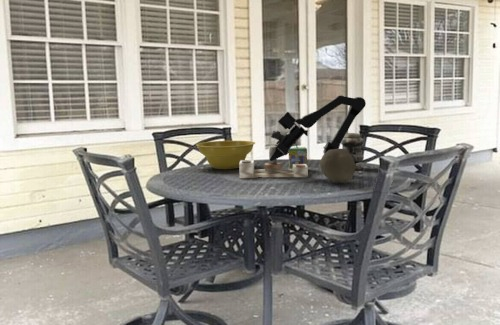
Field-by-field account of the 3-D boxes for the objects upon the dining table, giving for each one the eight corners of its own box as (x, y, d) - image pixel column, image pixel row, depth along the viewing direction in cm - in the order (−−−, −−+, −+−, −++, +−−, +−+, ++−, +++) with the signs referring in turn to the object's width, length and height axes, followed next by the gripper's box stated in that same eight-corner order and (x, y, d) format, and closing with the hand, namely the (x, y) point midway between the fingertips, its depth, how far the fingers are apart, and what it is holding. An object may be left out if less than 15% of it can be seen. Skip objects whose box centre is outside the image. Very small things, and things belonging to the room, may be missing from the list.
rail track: (306, 173, 250) (306, 157, 249) (308, 176, 238) (307, 160, 237) (241, 174, 252) (240, 159, 251) (239, 178, 240) (239, 162, 239)
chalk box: (307, 171, 256) (307, 142, 254) (289, 171, 256) (289, 142, 255) (306, 168, 265) (305, 140, 263) (288, 169, 266) (288, 140, 264)
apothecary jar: (364, 170, 254) (364, 134, 252) (339, 170, 256) (339, 134, 254) (362, 166, 266) (362, 132, 264) (339, 167, 268) (339, 132, 266)
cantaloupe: (343, 179, 227) (343, 146, 225) (361, 184, 214) (361, 148, 212) (315, 182, 222) (314, 148, 220) (331, 187, 209) (331, 151, 207)
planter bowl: (244, 172, 258) (243, 146, 257) (186, 171, 269) (185, 145, 267) (263, 164, 289) (262, 140, 287) (211, 163, 299) (210, 140, 297)
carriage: (281, 167, 248) (280, 146, 247) (281, 169, 240) (281, 147, 239) (264, 167, 249) (264, 146, 247) (264, 170, 241) (264, 148, 240)
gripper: (280, 123, 251) (258, 146, 253) (280, 125, 233) (257, 150, 234) (296, 139, 252) (274, 162, 254) (298, 142, 233) (274, 167, 235)
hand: (270, 160), depth 244 cm, fingers closed on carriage, 4 cm apart
